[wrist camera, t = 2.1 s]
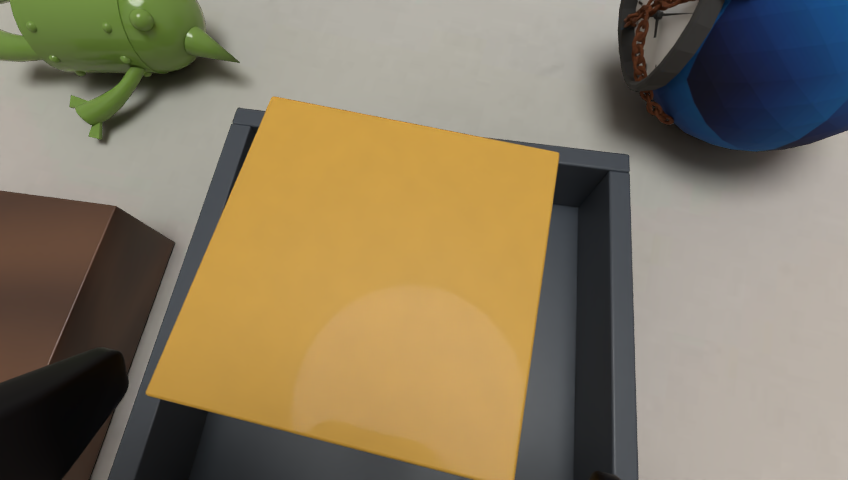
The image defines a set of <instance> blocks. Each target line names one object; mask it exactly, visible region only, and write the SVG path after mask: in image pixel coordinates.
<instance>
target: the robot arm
mask: <svg viewBox="0 0 848 480" xmlns="http://www.w3.org/2000/svg"><path fill="white" fill-rule="evenodd" d="M128 384H129V382H128V376H127V371H126V365H125V360H124V356H123V354H122V353H121V352H120V351H117V350H113V349H109V348H105V347H97V348H94V349H91V350H88V351H85V352H83V353H80V354H77V355H74V356H72V357H69V358H66V359H64V360H61V361H58V362H55V363H53V364H50V365H47V366H44V367H42V368H39V369H36V370H34V371H31V372H28V373H25V374H23V375H20V376H17V377H15V378H12V379H9V380H6V381H4V382H1V383H0V480H61V479H62V478H63V477H64V476H65V475H66V473H67V472H68V471H69V470H70V468H71V467H72V466H73V465H74V463H75V462H76V461H77V459H78V458H79V457H80V455H81V454H82V453H83V451H84V450H85V449H86V447H87V446H88V444H89V443H90V442H91V440H92V439H93V438H94V436H95V435H96V434H97V432H98V431H99V429H100V428H101V427H102V425H103V424H104V423H105V421H106V420H107V419H108V417H109V416H110V414H111V413H112V412H113V410H114V409H115V408H116V406H117V405H118V404H119V402H120V401H121V399H122V398H123V397H124V395H125V393H126V391H127V388H128ZM588 480H621V479H620V478H619V477H618V476H616V475H614V474H610V473H606V472H602V471H594V472H592V474H591V475H590V477H589V479H588Z"/></svg>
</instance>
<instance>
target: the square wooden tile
mask: <svg viewBox="0 0 848 480" xmlns="http://www.w3.org/2000/svg"><path fill="white" fill-rule="evenodd" d="M173 246H174V242H173V241H172V240H170V239H168V238H167V237H165V236H163V235H162V234H160V233H159V232H157V231H155V230H154V229H152V228H151V227H149V226H147V225H146V224H144V223H143V222H141V221H139V220H138V219H136V218H134V217H133V216H131V215H130V214H128V213H126V212H125V211H123V210H122V209H120V208H118V207H117V206H112V205H105V204H97V203H90V202H82V201H74V200H67V199H59V198H52V197H44V196H37V195H29V194H22V193H14V192H7V191H0V383H1V382H4V381H6V380H9V379H12V378H15V377H17V376H20V375H23V374H25V373H28V372H31V371H34V370H36V369H39V368H42V367H44V366H47V365H50V364H53V363H55V362H58V361H61V360H64V359H66V358H69V357H72V356H74V355H77V354H80V353H83V352H85V351H88V350H91V349H94V348H97V347H105V348H109V349H113V350H117V351H120V352H121V353H122V354H123V356H124V360H125V365H126V371H127V373H128V370H129V367H130V365H131V362H132V359H133V356H134V354H135V351H136V348H137V345H138V343H139V340H140V337H141V334H142V331H143V329H144V326H145V323H146V320H147V318H148V315H149V312H150V309H151V307H152V304H153V301H154V298H155V295H156V293H157V290H158V287H159V284H160V282H161V279H162V276H163V273H164V271H165V268H166V265H167V262H168V259H169V257H170V254H171V251H172V248H173ZM113 412H114V410H113ZM113 412H112V413H111V414H110V416H109V417H108V419H107V420H106V421H105V423H104V424H103V425H102V427H101V428H100V429H99V431H98V432H97V434H96V435H95V436H94V438H93V439H92V440H91V442H90V443H89V444H88V446H87V447H86V449H85V450H84V451H83V453H82V454H81V455H80V457H79V458H78V459H77V461H76V462H75V463H74V465H73V466H72V467H71V468H70V470H69V471H68V472H67V473H66V475H65V476H64V477H63V478H62V479H61V480H89V478H90V475H91V473H92V470H93V467H94V464H95V462H96V459H97V456H98V453H99V450H100V448H101V445H102V442H103V439H104V437H105V434H106V431H107V428H108V426H109V423H110V420H111V417H112V414H113Z"/></svg>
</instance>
